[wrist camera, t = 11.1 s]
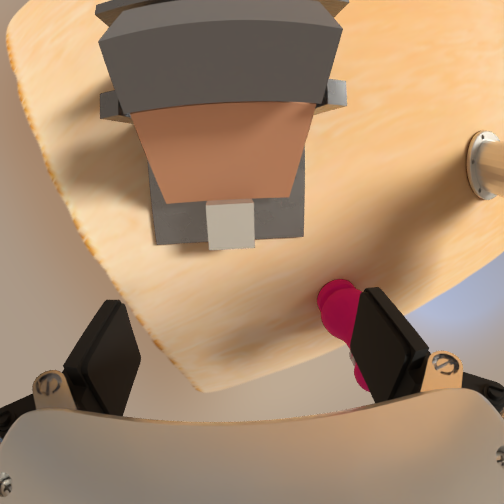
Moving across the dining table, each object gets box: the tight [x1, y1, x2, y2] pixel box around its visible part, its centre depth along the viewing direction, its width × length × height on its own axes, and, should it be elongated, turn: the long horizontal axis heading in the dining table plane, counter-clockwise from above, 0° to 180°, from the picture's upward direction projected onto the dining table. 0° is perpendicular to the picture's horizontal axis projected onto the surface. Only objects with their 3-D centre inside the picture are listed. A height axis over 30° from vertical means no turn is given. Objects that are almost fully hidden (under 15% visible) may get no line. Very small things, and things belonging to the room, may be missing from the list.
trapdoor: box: [98, 0, 343, 204], centre depth 21 cm, size 14×22×5 cm
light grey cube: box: [206, 199, 255, 250], centre depth 32 cm, size 5×5×5 cm
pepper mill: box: [317, 279, 370, 392], centre depth 32 cm, size 7×7×20 cm
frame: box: [95, 0, 349, 245], centre depth 25 cm, size 19×25×16 cm
